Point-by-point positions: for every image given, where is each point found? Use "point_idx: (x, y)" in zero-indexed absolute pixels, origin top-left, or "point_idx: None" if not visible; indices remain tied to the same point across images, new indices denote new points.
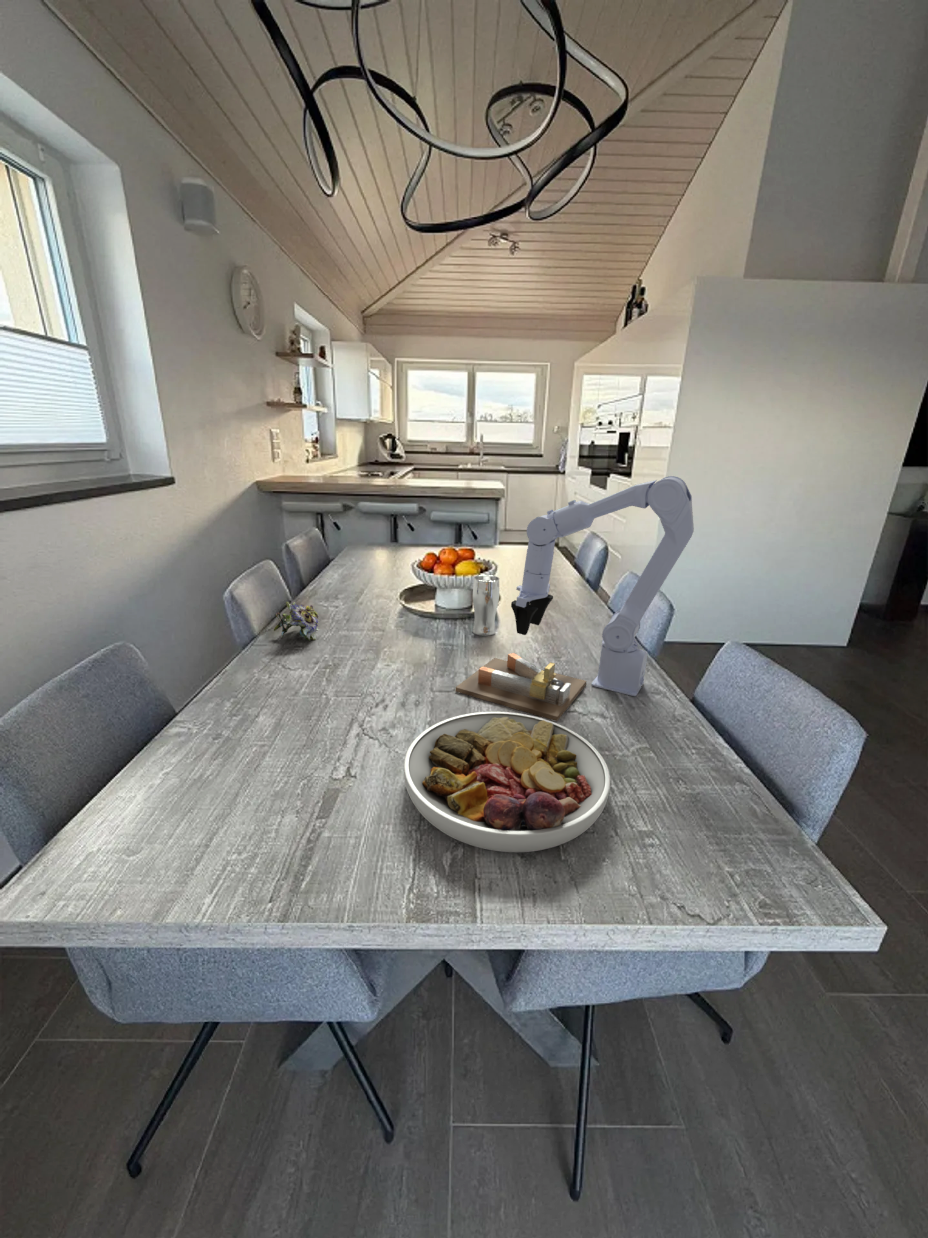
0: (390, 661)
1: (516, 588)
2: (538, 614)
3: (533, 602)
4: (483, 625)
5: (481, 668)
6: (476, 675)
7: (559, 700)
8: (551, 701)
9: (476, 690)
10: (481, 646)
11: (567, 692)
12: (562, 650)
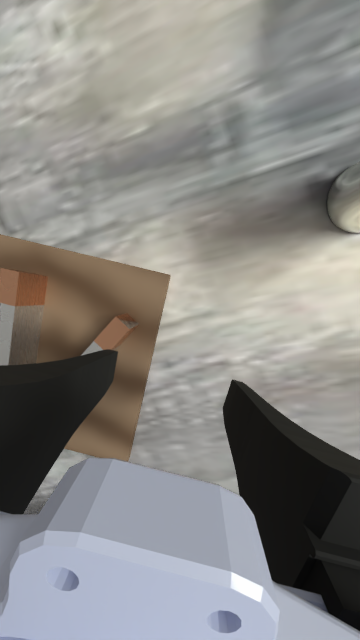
0: (80, 24)
1: (72, 483)
2: (237, 437)
3: (275, 459)
4: (357, 186)
5: (7, 273)
6: (63, 259)
7: None
8: None
9: None
10: (251, 222)
11: None
12: (285, 408)
